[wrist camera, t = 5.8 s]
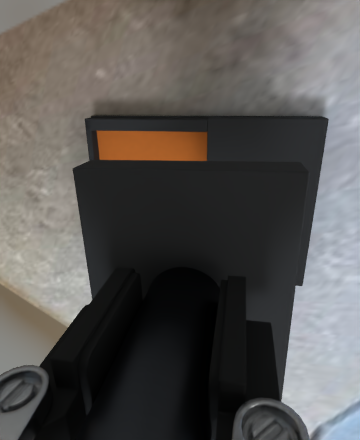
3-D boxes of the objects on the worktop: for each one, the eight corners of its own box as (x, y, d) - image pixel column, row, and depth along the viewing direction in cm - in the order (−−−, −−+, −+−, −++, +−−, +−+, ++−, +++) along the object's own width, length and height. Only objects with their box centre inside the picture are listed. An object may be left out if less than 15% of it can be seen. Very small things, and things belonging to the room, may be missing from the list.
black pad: (91, 159, 11) (-141, 261, 4) (301, 161, 10) (424, 308, 3) (116, 358, 14) (5, 589, 8) (276, 378, 13) (310, 677, 6)
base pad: (95, 115, 24) (84, 117, 22) (322, 116, 21) (329, 118, 20) (109, 257, 28) (101, 267, 27) (298, 273, 26) (302, 286, 24)
